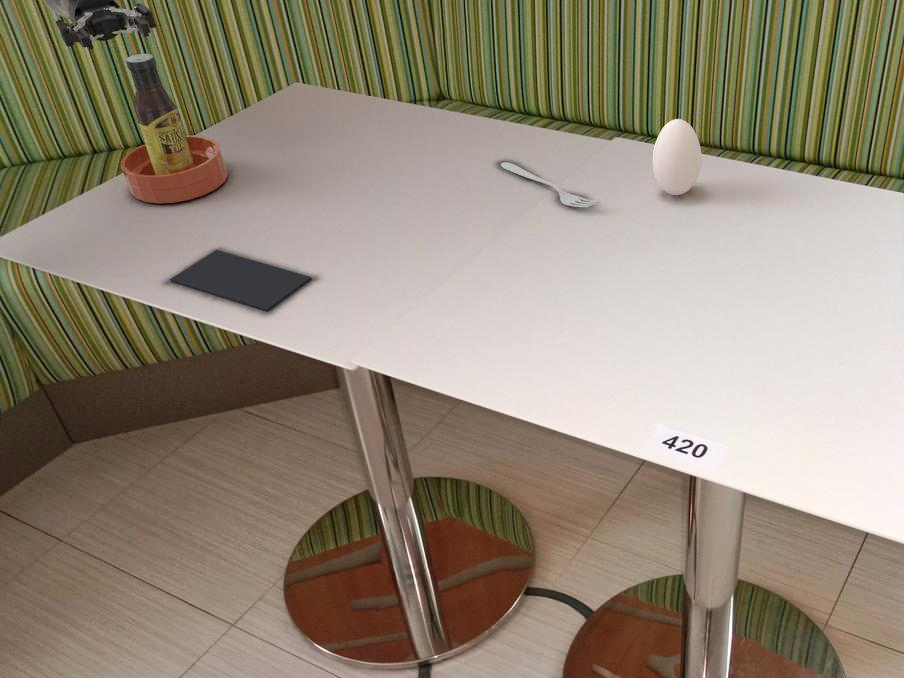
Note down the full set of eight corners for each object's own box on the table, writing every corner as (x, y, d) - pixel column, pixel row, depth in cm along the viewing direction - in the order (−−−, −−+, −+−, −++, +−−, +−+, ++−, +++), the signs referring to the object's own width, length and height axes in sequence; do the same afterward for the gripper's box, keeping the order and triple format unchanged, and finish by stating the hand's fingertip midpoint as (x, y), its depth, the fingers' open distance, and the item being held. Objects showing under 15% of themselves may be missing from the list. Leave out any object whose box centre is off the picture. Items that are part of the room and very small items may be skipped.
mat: (170, 282, 136) (169, 279, 136) (217, 252, 142) (216, 249, 141) (267, 312, 129) (266, 309, 129) (312, 279, 135) (311, 276, 135)
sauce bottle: (180, 193, 156) (137, 68, 142) (150, 187, 158) (105, 63, 144) (208, 175, 160) (168, 53, 147) (178, 170, 162) (137, 48, 149)
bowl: (132, 213, 152) (120, 183, 149) (132, 173, 163) (121, 145, 159) (231, 195, 156) (222, 165, 152) (225, 157, 166) (216, 129, 163)
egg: (709, 195, 150) (713, 121, 142) (671, 209, 147) (672, 134, 139) (681, 178, 154) (682, 105, 147) (643, 191, 152) (642, 118, 144)
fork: (510, 160, 161) (509, 150, 160) (603, 211, 147) (603, 200, 146) (494, 166, 160) (493, 156, 159) (587, 218, 146) (587, 207, 145)
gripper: (38, -4, 157) (60, 21, 147) (127, -22, 163) (154, 1, 153) (57, 43, 162) (80, 71, 152) (143, 24, 168) (170, 50, 158)
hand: (117, 36), depth 152 cm, fingers open, 8 cm apart
